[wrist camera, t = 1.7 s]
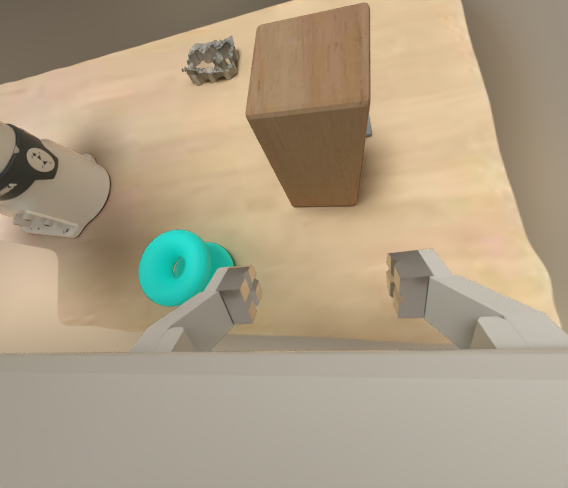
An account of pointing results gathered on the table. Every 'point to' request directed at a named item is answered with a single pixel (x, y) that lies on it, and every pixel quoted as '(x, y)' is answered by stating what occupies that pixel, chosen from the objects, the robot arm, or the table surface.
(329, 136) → the wooden block
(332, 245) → the table surface
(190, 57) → the egg carton
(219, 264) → the donuts
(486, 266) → the table surface
